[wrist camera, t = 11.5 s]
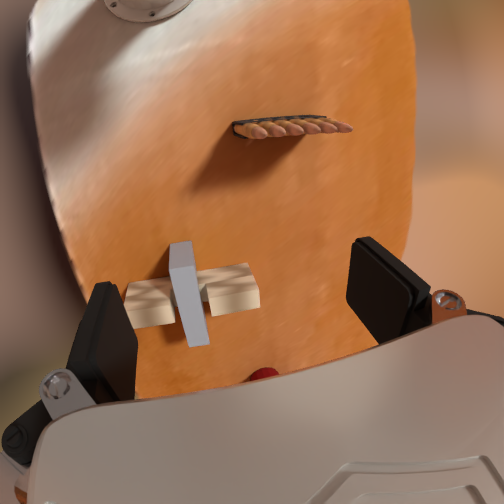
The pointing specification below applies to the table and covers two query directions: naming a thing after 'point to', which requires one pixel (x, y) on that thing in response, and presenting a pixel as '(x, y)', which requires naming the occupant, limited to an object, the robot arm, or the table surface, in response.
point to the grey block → (188, 293)
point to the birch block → (211, 289)
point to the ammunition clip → (287, 126)
